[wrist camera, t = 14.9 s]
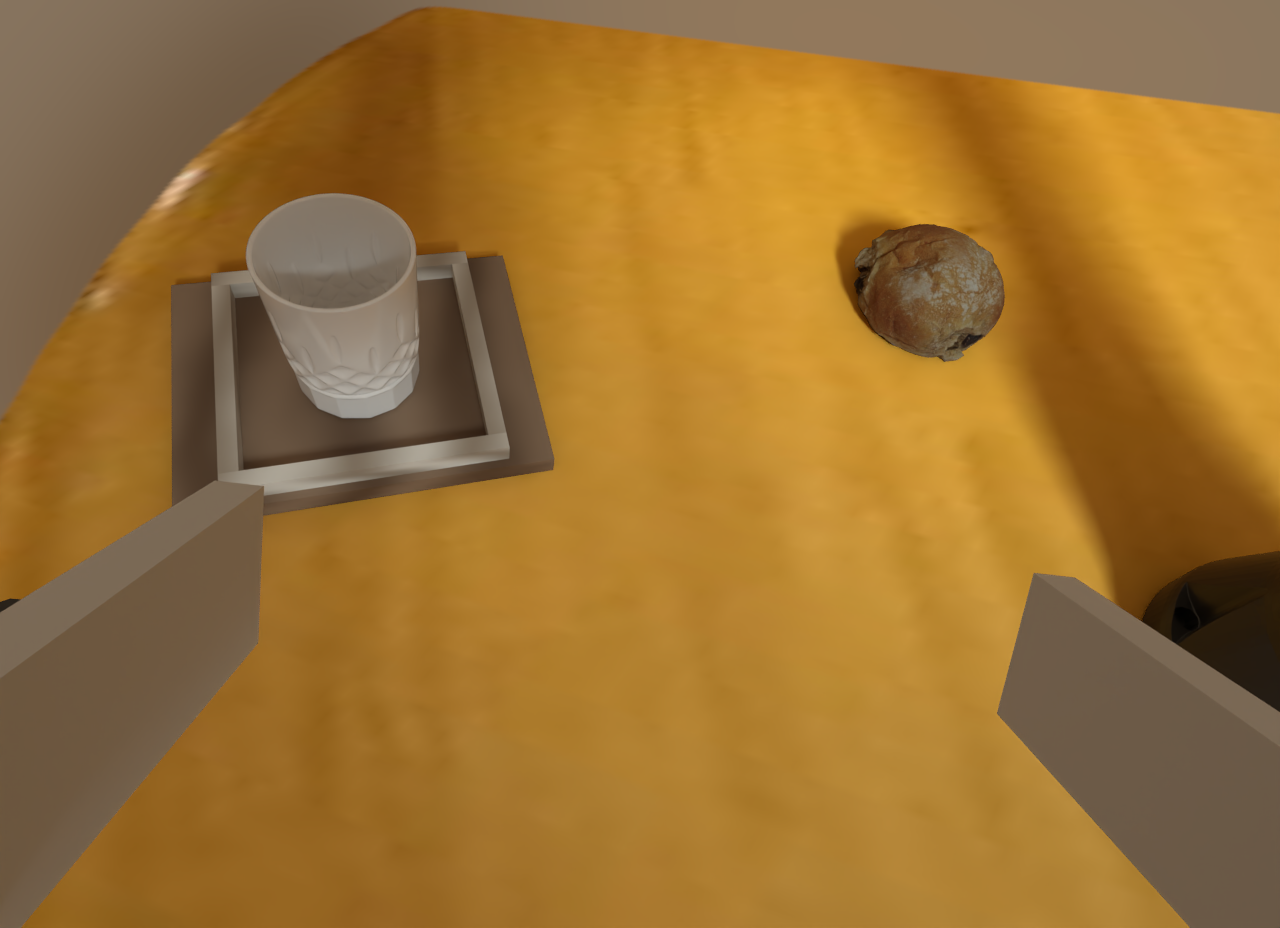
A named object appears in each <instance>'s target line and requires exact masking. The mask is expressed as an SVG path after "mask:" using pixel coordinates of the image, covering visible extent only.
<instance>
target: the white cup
mask: <svg viewBox="0 0 1280 928" xmlns="http://www.w3.org/2000/svg"><path fill="white" fill-rule="evenodd" d="M246 262H247V267H248V270H249V272H250V275H251V277H252V279H253V282H254V284H255V286H256V289H257V291H258V294H259V296H260V298H261V301H262V303H263V305H264V308H265V310H266V313H267V315H268V317H269V320H270V322H271V325H272V327H273V329H274V332H275V334H276V336H277V339H278V341H279V342H280V344H281V347H282V349H283V352H284V354H285V356H286V358H287V360H288V362H289V364H290V365H291V367H292V369H293V370H294V372H295V375H296V377H297V380H298V382H299V385H300V387H301V390H302V392H303V393H304V394H305V395H306V396H307V397H308V398H309V399H310V400H311V402H312V403H313V404H314V405H315V406H316V407H317V408H318V409H320V410H323V411H325V412H328V413H330V414H333V415H335V416H338V417H340V418H372V417H374V416H377V415H380V414H382V413H385V412H387V411H390V410H393V409H395V408H396V407H397V406H398V405H399V404H400V403H401V402H403V401H404V400H405V399H406V398H407V397H408V396H409V395H410V394H411V393H412V392H413V389H414V386H415V383H416V380H417V377H418V374H419V354H418V347H419V299H418V280H417V258H416V244H415V240H414V236H413V234H412V232H411V230H410V228H409V227H408V225H407V224H406V222H405V221H404V220H403V219H402V218H401V217H400V216H399V215H398V214H397V213H395V212H394V211H393V210H391V209H390V208H388V207H386V206H385V205H383V204H381V203H379V202H376V201H374V200H371V199H368V198H365V197H361V196H356V195H351V194H340V193H327V194H317V195H311V196H306V197H302V198H299V199H296V200H293V201H291V202H288V203H286V204H284V205H282V206H280V207H278V208H276V209H275V210H273V211H272V212H271V213H269V214H268V215H267V216H265V217H264V218H263V219H262V220H261V221H260V222H259V224H258V225H257V226H256V227H255V229H254V230H253V232H252V234H251V236H250V238H249V240H248V243H247V248H246Z"/></svg>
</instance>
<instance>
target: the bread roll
mask: <svg viewBox="0 0 1280 928" xmlns="http://www.w3.org/2000/svg"><path fill="white" fill-rule="evenodd" d="M857 267H858V269H859V271H860V272H861V274H860V277H858V279H857V280H856V281H855V283H854V285H855V287H856V289H857V290H856V292H857V294H858V296H859V297H858V305H859V307H860V309H861V310H862V312H863V313H864V315H865V316H866V318H867V319H868V322H869V324H870V326H871V328H872V329H873V330H874V332H876V333H878V334H879V335H880V336H883V337H884V338H885V339H886V340H887V341H889V342H890V343H891V344H892V345H895V346H898V347H900V348H902V349H904V350H906V351H908V352H910V353H913V354H915V355H919V356H924V357H936V356H937V357H939V358H941V359H943V361H944V362H945V361H953V360H957V359H959V358H961V357H962V356H964V355H963V353H962V352H961V351H964V350H966V349H967V348H969V347H970V346H972V345H973V344H975V343H976V342H977V341H978V340H981V339H982V338H983V337H985V336H986V334H987V333H988V332H989V331H990V330H991V329H992V328H993V327H994V325H995V324H996V322H997V321H998V319H999V317H1000V315H1001V312H1002V309H1003V306H1004V298H1005V297H1004V285H1003V280H1002V277H1001V274H1000V272H999V270H998V268H997V266H996V264H995V263H994V259H993V256H992V254H991V253H990V252H989V251H987V250H985V249H984V248H983V247H981V246H979V245H978V244H977V243H976V241H974V240H973V239H971V238H970V237H969V236H967V235H965V234H963V233H961V232H958V231H956V230H953V229H951V228H947V227H941V226H936V225H934V224H933V225H929V224H923V225H921V224H919V225H914V226H909V227H906V228H903V229H898V230H887V231H885V233H883V234H882V235H881V236H880V237H878V238H876V239H874V240H872V248H864V249H863V250H862V251H860V253H859V255H858V257H857V258H856V259H855V268H857Z"/></svg>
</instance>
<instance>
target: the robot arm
mask: <svg viewBox="0 0 1280 928" xmlns="http://www.w3.org/2000/svg"><path fill="white" fill-rule="evenodd" d="M263 503H264V486H259V485H250V484H241V483H233V482H224V481H213V482H212V483H210V484H208V485H207V486H205V487H203V488H202V489H200V490H199V491H197V492H195V493H194V494H192V495H190V496H189V497H187V498H186V499H184V500H182V501H181V502H179V503H177V504H176V505H174V506H173V507H171V508H169V509H168V510H166V511H164V512H163V513H161V514H160V515H158V516H156V517H155V518H153V519H151V520H150V521H148V522H147V523H145V524H143V525H142V526H140V527H138V528H137V529H135V530H134V531H132V532H130V533H129V534H127V535H125V536H124V537H122V538H121V539H119V540H117V541H116V542H114V543H112V544H111V545H109V546H107V547H106V548H104V549H103V550H101V551H99V552H98V553H96V554H94V555H93V556H91V557H90V558H88V559H86V560H85V561H83V562H81V563H80V564H78V565H77V566H75V567H73V568H72V569H70V570H68V571H67V572H65V573H64V574H62V575H60V576H59V577H57V578H55V579H54V580H52V581H51V582H49V583H47V584H46V585H44V586H42V587H41V588H39V589H38V590H36V591H34V592H33V593H31V594H29V595H28V596H26V597H25V598H23V599H21V600H19V599H8V600H5V601H2V602H0V928H21V927H22V925H23V924H24V923H25V922H26V921H27V919H28V918H29V917H30V916H31V915H32V913H33V912H34V911H35V910H36V909H37V907H38V906H39V905H40V904H41V903H42V901H43V900H44V899H45V898H46V897H47V895H48V894H49V893H50V892H51V891H52V889H53V888H54V887H55V886H56V885H57V883H58V882H59V881H60V880H61V879H62V877H63V876H64V875H65V874H66V873H67V871H68V870H69V869H70V868H71V867H72V865H73V864H74V863H75V862H76V861H77V859H78V858H79V857H80V856H81V855H82V853H83V852H84V851H85V850H86V849H87V847H88V846H89V845H90V844H91V843H92V841H93V840H94V839H95V838H96V837H97V835H98V834H99V833H100V832H101V831H102V829H103V828H104V827H105V826H106V825H107V823H108V822H109V821H110V820H111V819H112V817H113V816H114V815H115V814H116V813H117V811H118V810H119V809H120V808H121V807H122V806H123V804H124V803H125V802H126V801H127V800H128V798H129V797H130V796H131V795H132V794H133V792H134V791H135V790H136V789H137V788H138V786H139V785H140V784H141V783H142V782H143V780H144V779H145V778H146V777H147V776H148V774H149V773H150V772H151V771H152V770H153V768H154V767H155V766H156V765H157V764H158V762H159V761H160V760H161V759H162V758H163V756H164V755H165V754H166V753H167V752H168V750H169V749H170V748H171V747H172V746H173V744H174V743H175V742H176V741H177V740H178V738H179V737H180V736H181V735H182V734H183V732H184V731H185V730H186V729H187V728H188V726H189V725H190V724H191V723H192V722H193V720H194V719H195V718H196V717H197V716H198V714H199V713H200V712H201V711H202V710H203V708H204V707H205V706H206V705H207V704H208V702H209V701H210V700H211V699H212V698H213V696H214V695H215V694H216V693H217V692H218V690H219V689H220V688H221V687H222V686H223V684H224V683H225V682H226V681H227V680H228V678H229V677H230V676H231V675H232V674H233V672H234V671H235V670H236V669H237V668H238V666H239V665H240V664H241V663H242V662H243V660H244V659H245V658H246V657H247V656H248V654H249V653H250V652H251V651H252V650H253V648H254V647H255V646H256V645H257V644H258V633H259V607H260V581H261V555H262V529H263ZM997 714H998V715H999V716H1000V717H1001V719H1002V720H1003V721H1004V722H1005V723H1006V724H1007V725H1008V726H1009V727H1010V728H1011V730H1012V731H1013V732H1014V733H1015V734H1016V735H1017V736H1018V737H1019V738H1020V740H1021V741H1022V742H1023V743H1024V744H1025V745H1026V746H1027V747H1028V748H1029V750H1030V751H1031V752H1032V753H1033V754H1034V755H1035V756H1036V757H1037V758H1038V759H1039V761H1040V762H1041V763H1042V764H1043V765H1044V766H1045V767H1046V768H1047V769H1048V771H1049V772H1050V773H1051V774H1052V775H1053V776H1054V777H1055V778H1056V779H1057V781H1058V782H1059V783H1060V784H1061V785H1062V786H1063V787H1064V788H1065V789H1066V790H1067V792H1068V793H1069V794H1070V795H1071V796H1072V797H1073V798H1074V799H1075V800H1076V802H1077V803H1078V804H1079V805H1080V806H1081V807H1082V808H1083V809H1084V810H1085V812H1086V813H1087V814H1088V815H1089V816H1090V817H1091V818H1092V819H1093V820H1094V821H1095V823H1096V824H1097V825H1098V826H1099V827H1100V828H1101V829H1102V830H1103V831H1104V833H1105V834H1106V835H1107V836H1108V837H1109V838H1110V839H1111V840H1112V841H1113V843H1114V844H1115V845H1116V846H1117V847H1118V848H1119V849H1120V850H1121V851H1122V852H1123V854H1124V855H1125V856H1126V857H1127V858H1128V859H1129V860H1130V861H1131V862H1132V864H1133V865H1134V866H1135V867H1136V868H1137V869H1138V870H1139V871H1140V872H1141V874H1142V875H1143V876H1144V877H1145V878H1146V879H1147V880H1148V881H1149V882H1150V883H1151V885H1152V886H1153V887H1154V888H1155V889H1156V890H1157V891H1158V892H1159V893H1160V895H1161V896H1162V897H1163V898H1164V899H1165V900H1166V901H1167V902H1168V903H1169V905H1170V906H1171V907H1172V908H1173V909H1174V910H1175V911H1176V912H1177V913H1178V914H1179V916H1180V917H1181V918H1182V919H1183V920H1184V921H1185V922H1186V923H1187V924H1188V926H1189V927H1190V928H1280V551H1277V552H1270V553H1263V554H1256V555H1249V556H1242V557H1235V558H1228V559H1222V560H1217V561H1214V562H1210V563H1207V564H1204V565H1202V566H1200V567H1197V568H1195V569H1194V570H1192V571H1190V572H1188V573H1186V574H1185V575H1183V576H1181V577H1180V578H1178V579H1176V580H1174V581H1173V582H1171V583H1169V584H1168V585H1166V586H1165V587H1164V588H1163V589H1162V590H1160V591H1159V593H1158V594H1157V595H1156V596H1155V597H1154V598H1153V600H1152V601H1151V603H1150V604H1149V606H1148V608H1147V610H1146V612H1145V615H1144V618H1143V621H1140V620H1138V619H1137V618H1135V617H1134V616H1132V615H1131V614H1129V613H1128V612H1126V611H1125V610H1123V609H1122V608H1120V607H1119V606H1117V605H1116V604H1114V603H1113V602H1111V601H1110V600H1108V599H1106V598H1105V597H1103V596H1102V595H1100V594H1099V593H1097V592H1096V591H1094V590H1093V589H1091V588H1090V587H1088V586H1087V585H1085V584H1084V583H1082V582H1081V581H1079V580H1078V579H1076V578H1073V577H1065V576H1056V575H1047V574H1038V573H1034V574H1033V578H1032V582H1031V586H1030V590H1029V593H1028V597H1027V601H1026V605H1025V609H1024V612H1023V616H1022V620H1021V624H1020V628H1019V632H1018V635H1017V639H1016V643H1015V647H1014V651H1013V654H1012V658H1011V662H1010V666H1009V670H1008V673H1007V677H1006V681H1005V685H1004V689H1003V693H1002V696H1001V700H1000V704H999V708H998V712H997Z"/></svg>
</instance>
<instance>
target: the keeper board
mask: <svg viewBox="0 0 1280 928" xmlns="http://www.w3.org/2000/svg"><path fill="white" fill-rule="evenodd" d="M416 258H417V280H418V299H419V347H418V354H419V374H418V377H417V380H416V383H415V386H414V389H413V392H412V393H411V394H410V395H409V396H408V397H407V398H406V399H405V400H404V401H403V402H401V403H400V404H399V405H398V406H397V407H396V408H395V409H393V410H390V411H387V412H385V413H382V414H380V415H377V416H374V417H372V418H340V417H338V416H335V415H333V414H330V413H328V412H325V411H323V410H320V409H318V408H317V407H316V406H315V405H314V404H313V403H312V402H311V400H310V399H309V398H308V397H307V396H306V395H305V394H304V393H303V392H302V390H301V387H300V385H299V382H298V380H297V377H296V375H295V372H294V370H293V369H292V367H291V365H290V364H289V362H288V360H287V358H286V356H285V354H284V352H283V349H282V347H281V344H280V342H279V341H278V339H277V336H276V334H275V332H274V329H273V327H272V325H271V322H270V320H269V317H268V315H267V313H266V310H265V308H264V305H263V303H262V301H261V298H260V296H259V294H258V291H257V289H256V286H255V284H254V282H253V279H252V277H251V275H250V272H249V270H245V271H234V272H222V273H211V282H203V283H192V284H180V285H171V326H172V507H173V506H174V505H176V504H177V503H179V502H181V501H182V500H184V499H186V498H187V497H189V496H190V495H192V494H194V493H195V492H197V491H199V490H200V489H202V488H203V487H205V486H207V485H208V484H210V483H212V482H213V481H224V482H233V483H241V484H250V485H259V486H264V503H263V515H269V514H275V513H282V512H288V511H294V510H301V509H307V508H313V507H320V506H326V505H333V504H339V503H345V502H352V501H358V500H364V499H371V498H377V497H383V496H390V495H396V494H402V493H409V492H415V491H421V490H428V489H434V488H440V487H447V486H453V485H459V484H466V483H472V482H478V481H485V480H491V479H497V478H504V477H510V476H516V475H523V474H529V473H536V472H542V471H548V470H553V466H554V456H553V452H552V448H551V444H550V440H549V436H548V433H547V429H546V425H545V421H544V417H543V413H542V409H541V405H540V401H539V397H538V393H537V389H536V385H535V381H534V377H533V373H532V370H531V366H530V362H529V358H528V354H527V350H526V346H525V342H524V338H523V334H522V330H521V326H520V322H519V318H518V314H517V310H516V306H515V303H514V299H513V295H512V291H511V287H510V283H509V279H508V275H507V271H506V267H505V263H504V259H503V256H492V257H481V258H470V259H467V257H466V252H465V251H462V252H451V253H439V254H428V255H417V256H416Z"/></svg>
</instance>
